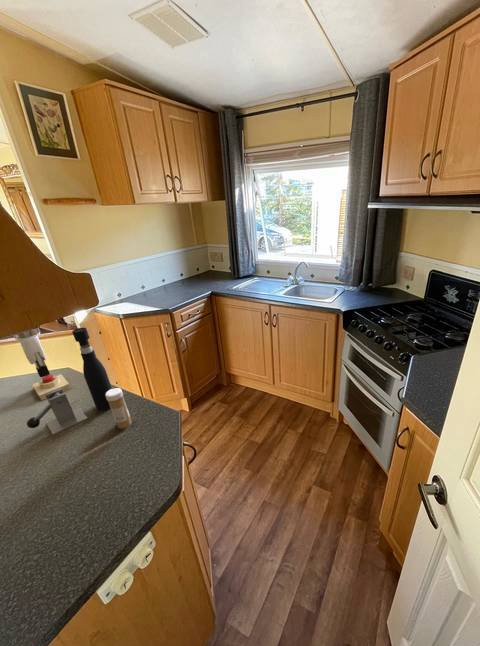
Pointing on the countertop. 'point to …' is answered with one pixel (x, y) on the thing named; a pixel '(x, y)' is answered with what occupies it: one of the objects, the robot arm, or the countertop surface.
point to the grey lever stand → (63, 412)
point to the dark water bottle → (93, 371)
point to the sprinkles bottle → (118, 407)
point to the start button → (48, 379)
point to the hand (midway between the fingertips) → (44, 375)
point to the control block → (51, 386)
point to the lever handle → (36, 421)
